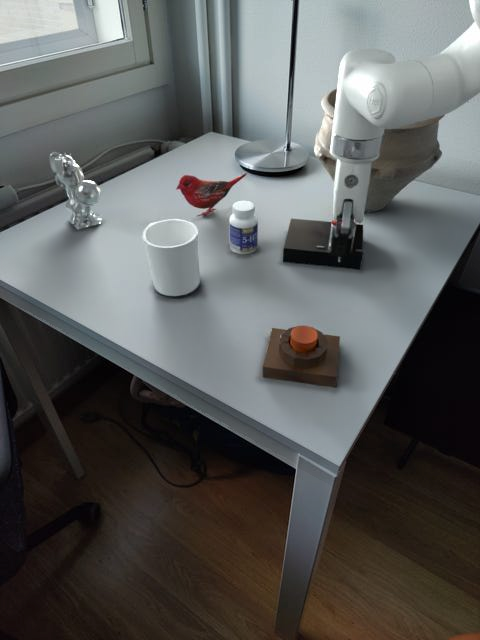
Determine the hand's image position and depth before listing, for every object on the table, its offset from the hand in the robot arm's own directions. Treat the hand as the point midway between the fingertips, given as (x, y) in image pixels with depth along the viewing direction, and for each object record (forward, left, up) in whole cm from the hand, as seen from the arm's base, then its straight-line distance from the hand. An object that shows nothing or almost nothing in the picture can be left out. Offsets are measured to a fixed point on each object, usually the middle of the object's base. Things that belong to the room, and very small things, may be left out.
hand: (340, 243), depth 82 cm
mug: (+28, +11, -4) cm, 30 cm away
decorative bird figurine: (+27, -15, -4) cm, 31 cm away
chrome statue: (+52, -5, -4) cm, 52 cm away
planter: (-5, -24, -4) cm, 25 cm away
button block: (+4, +26, -4) cm, 27 cm away
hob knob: (0, 0, -1) cm, 1 cm away
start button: (+4, +26, 0) cm, 26 cm away
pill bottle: (+18, -2, -4) cm, 19 cm away
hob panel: (+3, -3, -4) cm, 6 cm away
